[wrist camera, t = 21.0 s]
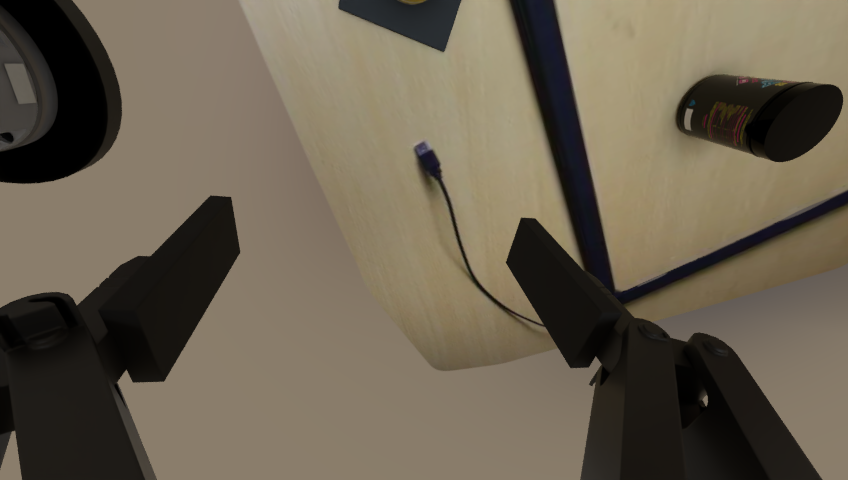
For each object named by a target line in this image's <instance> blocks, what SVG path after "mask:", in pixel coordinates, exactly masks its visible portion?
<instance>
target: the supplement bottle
mask: <svg viewBox="0 0 848 480" xmlns="http://www.w3.org/2000/svg"><path fill="white" fill-rule="evenodd" d="M398 1H400V2H402V3H405V4H410V5H414V4H420V3H423V2H425V1H426V0H398Z"/></svg>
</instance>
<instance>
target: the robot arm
mask: <svg viewBox="0 0 848 480" xmlns="http://www.w3.org/2000/svg"><path fill="white" fill-rule="evenodd" d="M57 111H58V93H57V88H56V83H55V80H54V77H53V74H52V72H51V70H50V67H49V65H48V63H47V61H46V59H45V57H44V56H43V54H42V52H41V51H40V49H39V48H38V46H37V45H36V43H35V42H34V40H33V39H32V38H31V36H30V35H29V34H28V33H27V31H26V30H25V29H24V28H23V27H22V25H21V24H20V23H19V22H18V21H17V20H16V19H15V18H14V17H13V16H12V15H11V14H10V13H9V12H8V11H7V10H6V9H5V8H4V7H3V6H2V5H0V151H6V150H10V149H13V148H17V147H20V146H23V145H27V144H29V143H32V142H34V141H36V140H38V139H40V138H41V137H42V136H44V135H45V134H46V133H47V132H48V131H49V130H50V128H51V127H52V125H53V123H54V121H55V119H56V116H57ZM239 254H240V248H239V242H238V236H237V230H236V224H235V218H234V212H233V206H232V200H231V197H222V196H210V197H209V198H208V199H207V200H206V201H205V202H204V203H203V204H202V205H201V206H200V207H199V208H198V209H197V210H196V211H195V212H194V213H193V214H192V215H191V216H190V217H189V218H188V219H187V220H186V221H185V222H184V223H183V224H182V225H181V226H180V227H179V228H178V229H177V230H176V231H175V232H174V233H173V234H172V235H171V236H170V237H169V238H168V239H167V240H166V241H165V242H164V243H163V244H162V246H160V247H159V248H158V249H157V250H156V251H155V253H153V254H152V256H137V257H135V258H134V259H132V260H130V261H128V262H126V263H124V264H122V265H120V266H119V267H118V268H117V269H116V270H115V271H114V272H113V273H112V274H111V275H110V276H109V278H106V279H105V280H104V281H103V282H102V283H101V284H100V286H99V287H97V288H96V289H94V290H93V291H92V292H91V293H90V294H89V295H88V296H87V297H86V298H85V299H84V300H83V301H81V302H80V303H79V304H78V305H76V304H75V302H74V300H73V298H71V297H70V296H69V295H68V294H64V293H60V292H50V293H41V294H36V295H31V296H27V297H24V298H21V299H18V300H16V301H13V302H10V303H9V304H7V305H5V306H3V307H1V308H0V468H1V465H2V461H3V458H4V454H5V452H6V448H7V445H8V442H9V439H10V435H11V432H12V431H15V432H16V439H17V446H18V454H19V461H20V468H21V475H22V480H157V479H156V476H155V474H154V471H153V469H152V466H151V464H150V461H149V459H148V456H147V454H146V451H145V449H144V447H143V444H142V442H141V439H140V436H139V434H138V432H137V429H136V427H135V424H134V422H133V419H132V416H131V414H130V412H129V409H128V407H127V404H126V402H125V399H124V397H123V394H122V392H121V389H120V387H119V385H118V383H117V382H118V380H119V379H120V377H121V376H122V374H123V373H124V372H125V371H126V369H127V371H128V373H129V375H130V377H131V379H132V381H133V382H160V381H161V382H162V381H163V382H164V381H165V379H166V377H167V376H168V374H169V372H170V371H171V369H172V367H173V365H174V364H175V362H176V360H177V358H178V357H179V355H180V353H181V351H182V350H183V348H184V347H185V345H186V343H187V342H188V340H189V338H190V337H191V335H192V333H193V331H194V330H195V328H196V326H197V325H198V323H199V321H200V319H201V318H202V316H203V315H204V313H205V311H206V309H207V308H208V306H209V304H210V302H211V301H212V299H213V298H214V296H215V294H216V293H217V291H218V289H219V287H220V286H221V284H222V282H223V281H224V279H225V277H226V276H227V274H228V272H229V270H230V269H231V267H232V265H233V264H234V262H235V260H236V259H237V257H238V255H239ZM506 264H507V265H508V267H509V269H510V270H511V272H512V274H513V275H514V277H515V278H516V280H517V282H518V283H519V285H520V287H521V288H522V290H523V291H524V293H525V295H526V296H527V298H528V300H529V301H530V303H531V304H532V306H533V308H534V309H535V311H536V313H537V314H538V316H539V318H540V319H541V321H542V322H543V324H544V326H545V327H546V329H547V331H548V332H549V334H550V335H551V337H552V339H553V340H554V342H555V344H556V345H557V347H558V348H559V350H560V352H561V353H562V355H563V357H564V358H565V360H566V362H567V363H568V365H569V366H570V368H584V367H589V366H590V364H591V363H592V361H593V360H594V358H595V356H596V357H597V358H598V359H599V361H600V362H601V364H602V365H601V366H600V368H599V369H598V371H597V372H596V374H595V376H594V377H593V378H592V380H591V382H590V384H589V385H591V386H592V385H593V384H594V383H595V382H596V384H595V390H594V397H593V403H592V409H591V416H590V422H589V428H588V435H587V441H586V447H585V454H584V460H583V466H582V473H581V479H580V480H822V479H821V477H820V476H819V474H818V473H817V471H816V470H815V468H814V467H813V465H812V464H811V462H810V461H809V459H808V458H807V457H806V455H805V454H804V452H803V451H802V449H801V448H800V446H799V445H798V443H797V442H796V440H795V439H794V437H793V436H792V435H791V433H790V432H789V430H788V429H787V427H786V426H785V424H784V423H783V421H782V420H781V418H780V417H779V416H778V414H777V413H776V411H775V410H774V408H773V407H772V405H771V404H770V402H769V401H768V399H767V398H766V396H765V395H764V393H763V392H762V390H761V389H760V388H759V386H758V385H757V383H756V382H755V380H754V379H753V377H752V376H751V374H750V373H749V372H748V370H747V369H746V367H745V366H744V364H743V363H742V361H741V360H740V358H739V357H738V355H737V354H736V353H735V352H734V351H733V349H732V348H730V347H729V346H728V345H727V344H725V343H724V342H723V341H721V340H719V339H718V338H716V337H713V336H710V335H708V334H704V333H694V334H693V335H692V336H691V338H690V339H689V340H688V342H685V341H681V340H677V339H673V338H670V336H669V335H668V334H667V333H666V332H665V331H664V330H663V329H662V328H660V327H659V326H658V325H656V324H654V323H652V322H650V321H647V320H644V319H640V318H634V317H633V316H632V315H631V314H630V313H629V311H628V310H627V309H626V308H625V307H624V306H623V305H622V304H621V303H620V302H619V301H618V300H617V299H616V298H615V297H614V296H612V294H611V293H610V292H609V290H608V289H605V286H604V285H603V284H602V283H601V282H600V281H599V280H598V279H597V278H596V277H594V276H593V275H591V274H590V273H588V272H587V271H583V270H582V269H581V268H580V266H579V265H578V264H577V263H576V262H575V261H574V260H573V259H572V258H571V257H570V256H569V255H568V253H567V252H566V251H565V250H564V249H563V248H562V247H561V246H560V245H559V244H558V243H557V242H556V240H555V239H554V238H553V237H552V236H551V235H550V234H549V233H548V232H547V231H546V230H545V229H544V228H543V226H542V225H541V224H540V223H539V222H538V221H537V220H536V219H534V218H521V220H520V223H519V226H518V229H517V232H516V234H515V237H514V240H513V243H512V246H511V249H510V252H509V255H508V258H507V261H506ZM706 395H707V396H708V405H707V407H706V406H705V404H704V402H703V401H702V399H703V398H704V397H705V396H706Z"/></svg>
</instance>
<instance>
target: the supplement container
mask: <svg viewBox="0 0 848 480" xmlns="http://www.w3.org/2000/svg"><path fill="white" fill-rule="evenodd" d="M842 105H843V95H842V92H841V90H840V89H839V88H838V87H836V86H834V85H831V84H820V83H813V82H795V81H785V80H775V79H764V78H754V77H744V76H733V75H715V76H712V77H709V78H707V79H705V80H703V81H701V82H700V83H699V84H697V85H696V86H695V87H694V88H693V89H692V90H691V91H690V92H689V93H688V94H687V95H686V97H685V98H684V100H683V102H682V104H681V106H680V109H679V113H678V123H679V126H680V128H681V130H682V131H683V132H684V133H685V134H687V135H689V136H693V137H696V138H699V139H703V140H706V141H709V142H713V143H716V144H719V145H723V146H726V147H729V148H733V149H736V150H739V151H743V152H746V153H749V154H753V155H754V156H757V157H761V158H765V159H768V160H771V161H775V162H785V161H790V160H793V159H795V158H797V157H799V156H801V155H803V154H805V153H806V152H808V151H809V150H811V149H812V148H813V147H814V146H816V145H817V144H818V143H819V142H820V141H821V140H822V139H823V138H824V137H825V136H826V135H827V134H828V132H829V131H830V130H831V128H832V127H833V126H834V124H835V122H836V121H837V119H838V117H839V115H840V112H841V109H842Z"/></svg>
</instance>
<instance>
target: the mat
mask: <svg viewBox="0 0 848 480" xmlns="http://www.w3.org/2000/svg"><path fill="white" fill-rule="evenodd" d="M460 2H461V0H426V1H425V2H423V3H420V4H414V5H410V4H405V3H402V2H400V1H398V0H340V1H339V9H341V10H344V11H346V12H348V13H351V14H353V15H356V16H358V17H360V18H363V19H365V20H368V21H370V22H373V23H375V24H377V25H380V26H382V27H385V28H387V29H390V30H392V31H394V32H397V33H399V34H402V35H404V36H406V37H409V38H411V39H414V40H416V41H419V42H421V43H423V44H426V45H428V46H431V47H433V48H435V49H438V50H440V51H443V52H444V51H445V48H446V45H447V42H448V39H449V36H450V33H451V30H452V27H453V24H454V21H455V18H456V14H457V11H458V8H459V5H460Z"/></svg>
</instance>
